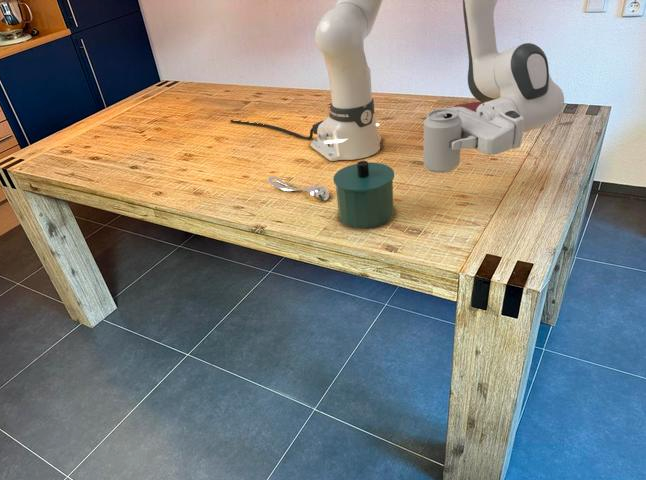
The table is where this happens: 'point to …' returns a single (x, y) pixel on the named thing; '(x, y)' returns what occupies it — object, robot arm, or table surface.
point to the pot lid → (363, 177)
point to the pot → (365, 207)
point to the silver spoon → (315, 191)
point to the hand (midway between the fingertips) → (438, 139)
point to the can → (441, 140)
